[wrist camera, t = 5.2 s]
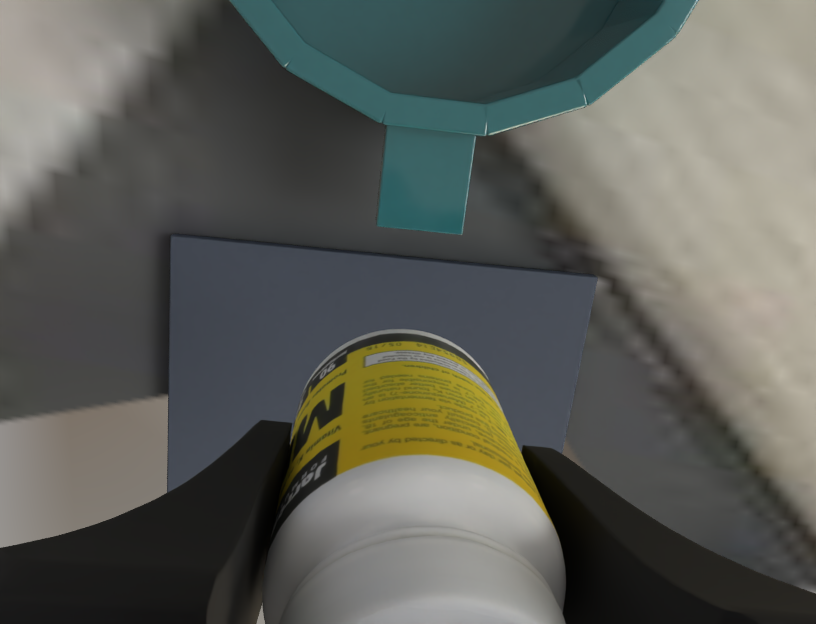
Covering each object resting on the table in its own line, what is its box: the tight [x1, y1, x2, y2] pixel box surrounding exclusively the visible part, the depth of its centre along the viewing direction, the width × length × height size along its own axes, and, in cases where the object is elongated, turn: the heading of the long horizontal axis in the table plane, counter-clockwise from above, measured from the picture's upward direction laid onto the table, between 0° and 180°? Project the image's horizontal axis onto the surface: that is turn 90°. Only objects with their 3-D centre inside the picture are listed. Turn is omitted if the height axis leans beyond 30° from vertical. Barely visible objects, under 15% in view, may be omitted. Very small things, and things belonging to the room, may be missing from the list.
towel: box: [167, 234, 598, 493], centre depth 24 cm, size 14×11×1 cm
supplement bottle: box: [262, 329, 566, 624], centre depth 12 cm, size 5×5×8 cm
